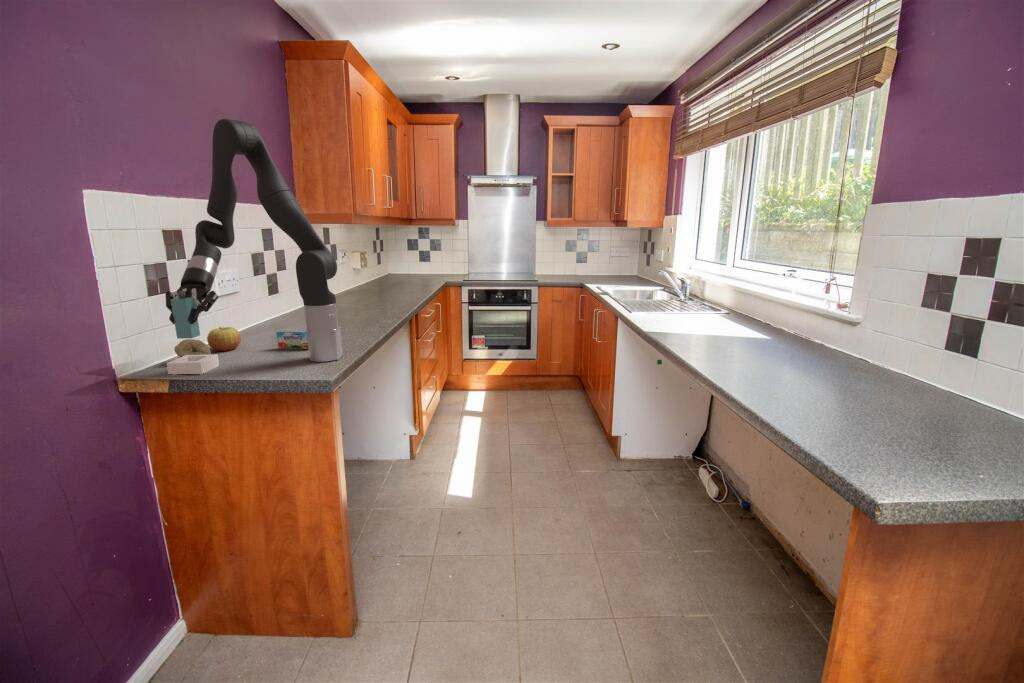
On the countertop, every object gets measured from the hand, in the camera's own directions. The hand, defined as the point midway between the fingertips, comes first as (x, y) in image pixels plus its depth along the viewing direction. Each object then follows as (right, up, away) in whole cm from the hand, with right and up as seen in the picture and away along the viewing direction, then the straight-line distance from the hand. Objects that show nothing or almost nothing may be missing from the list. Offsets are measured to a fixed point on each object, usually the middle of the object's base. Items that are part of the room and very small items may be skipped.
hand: (182, 322), depth 130 cm
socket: (0, -14, +5) cm, 15 cm away
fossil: (-7, -12, +15) cm, 20 cm away
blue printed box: (+18, -8, +29) cm, 36 cm away
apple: (-6, -8, +30) cm, 31 cm away
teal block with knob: (0, -4, +3) cm, 5 cm away
